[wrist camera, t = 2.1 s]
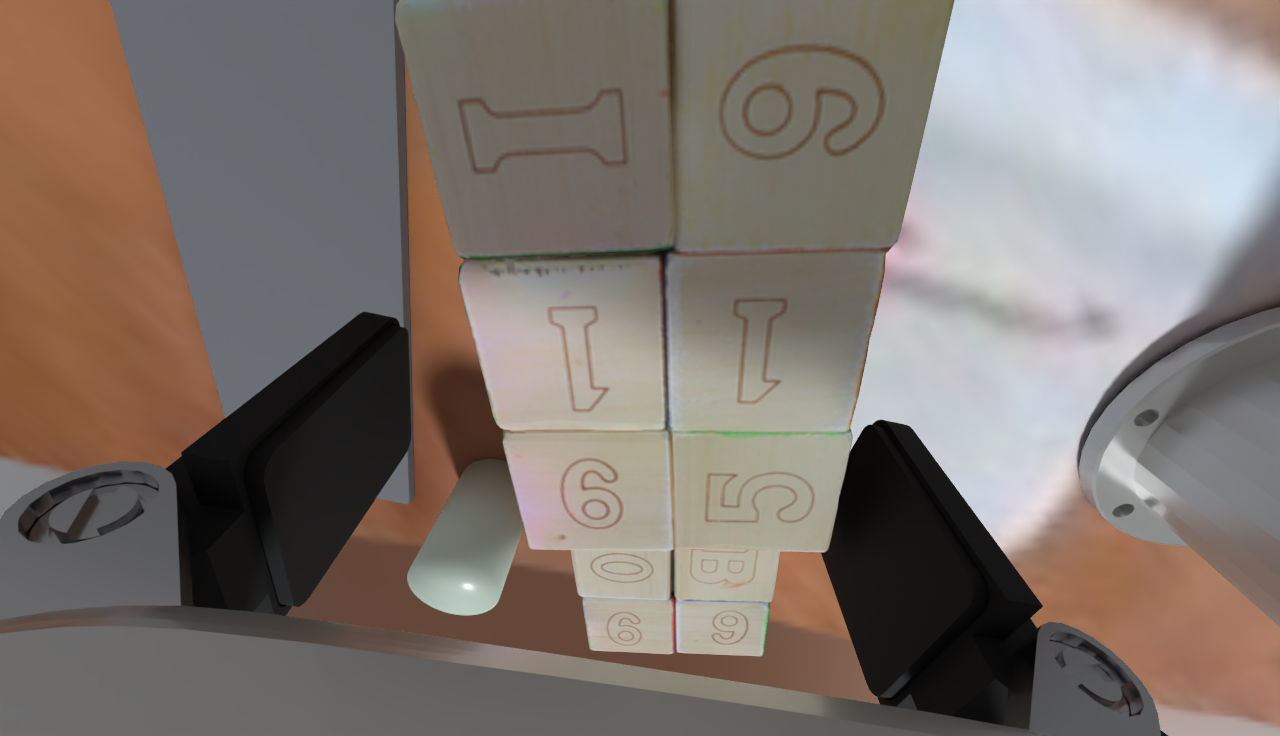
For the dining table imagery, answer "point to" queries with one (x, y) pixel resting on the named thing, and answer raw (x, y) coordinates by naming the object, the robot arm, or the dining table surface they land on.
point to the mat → (278, 173)
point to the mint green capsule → (470, 543)
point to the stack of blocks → (674, 273)
